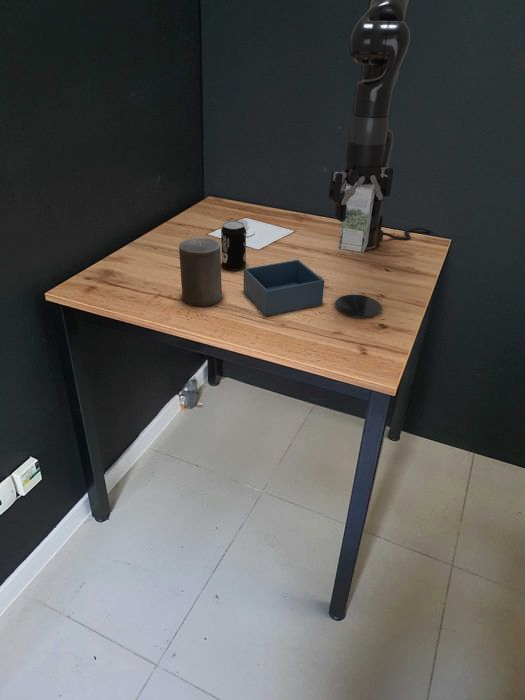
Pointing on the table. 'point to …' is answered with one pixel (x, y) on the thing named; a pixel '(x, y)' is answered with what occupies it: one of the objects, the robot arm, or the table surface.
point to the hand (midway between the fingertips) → (356, 218)
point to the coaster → (358, 306)
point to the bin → (283, 287)
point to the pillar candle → (200, 271)
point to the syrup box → (357, 219)
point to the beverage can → (233, 245)
